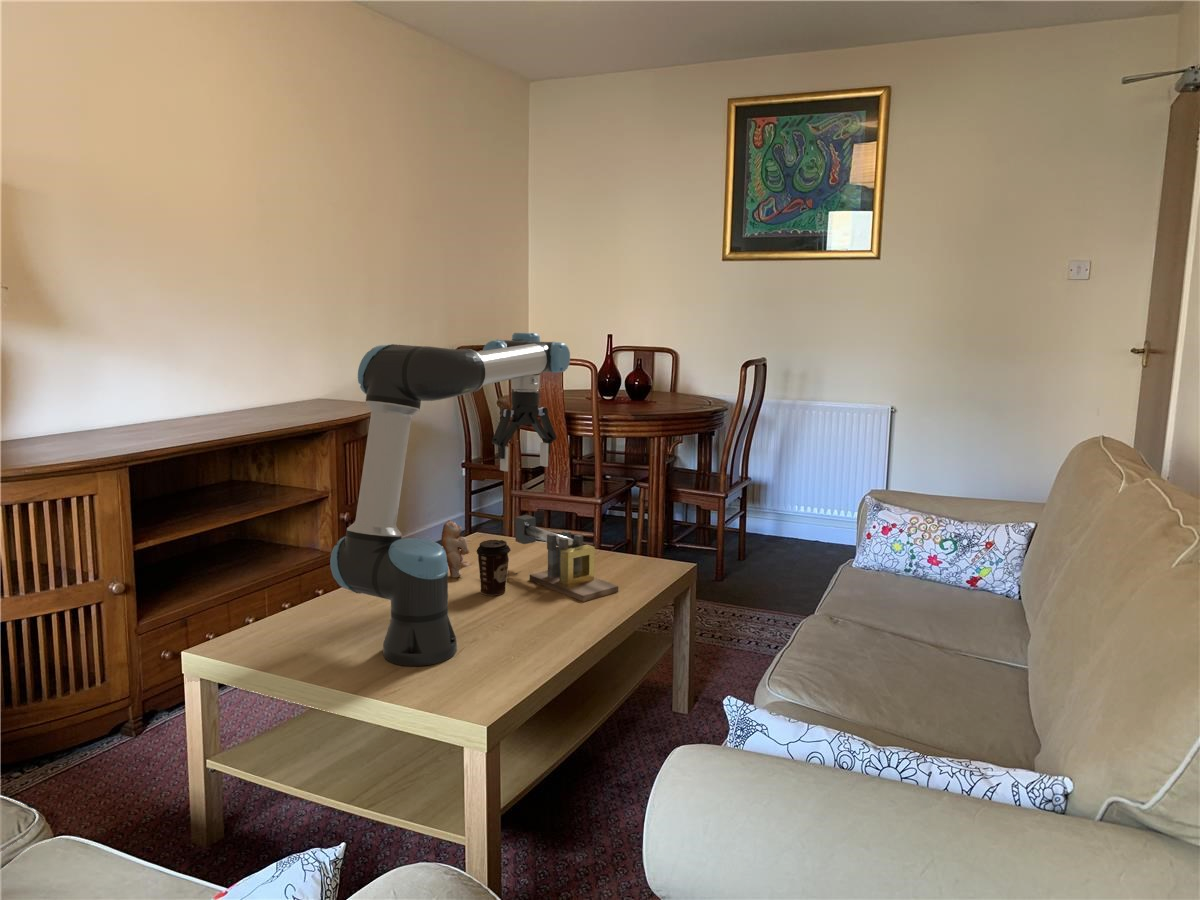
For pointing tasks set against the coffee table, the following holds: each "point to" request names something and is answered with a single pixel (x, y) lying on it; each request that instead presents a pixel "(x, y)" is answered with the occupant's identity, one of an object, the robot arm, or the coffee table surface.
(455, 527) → the figurine
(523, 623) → the coffee table surface
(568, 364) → the robot arm
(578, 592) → the bearing block
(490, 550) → the coffee cup
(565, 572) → the block
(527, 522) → the shaft
